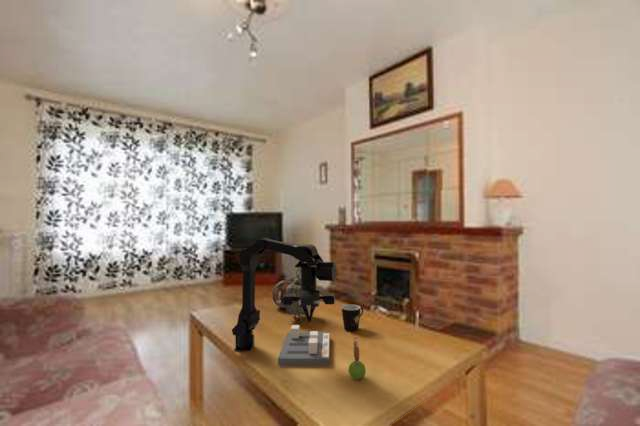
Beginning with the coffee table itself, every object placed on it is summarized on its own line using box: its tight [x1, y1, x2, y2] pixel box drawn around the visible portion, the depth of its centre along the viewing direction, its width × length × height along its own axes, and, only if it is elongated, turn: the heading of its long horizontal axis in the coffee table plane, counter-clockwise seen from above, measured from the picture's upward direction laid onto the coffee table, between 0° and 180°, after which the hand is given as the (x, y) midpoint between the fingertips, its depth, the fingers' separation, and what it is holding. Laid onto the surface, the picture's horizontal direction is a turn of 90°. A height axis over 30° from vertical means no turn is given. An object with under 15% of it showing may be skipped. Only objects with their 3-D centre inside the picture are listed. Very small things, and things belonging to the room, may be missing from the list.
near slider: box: [308, 338, 317, 354], centre depth 119 cm, size 3×4×4 cm
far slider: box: [290, 324, 301, 338], centre depth 133 cm, size 3×4×4 cm
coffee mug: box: [341, 304, 364, 333], centre depth 148 cm, size 12×9×10 cm
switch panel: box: [277, 332, 331, 367], centre depth 126 cm, size 18×24×3 cm
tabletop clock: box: [285, 268, 311, 323], centre depth 163 cm, size 14×9×25 cm, turn 168°
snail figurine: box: [348, 336, 367, 380], centre depth 105 cm, size 5×6×12 cm
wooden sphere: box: [271, 280, 294, 309], centre depth 183 cm, size 15×15×15 cm
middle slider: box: [309, 330, 319, 346], centre depth 126 cm, size 3×4×4 cm
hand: (309, 322), depth 120 cm, fingers closed
